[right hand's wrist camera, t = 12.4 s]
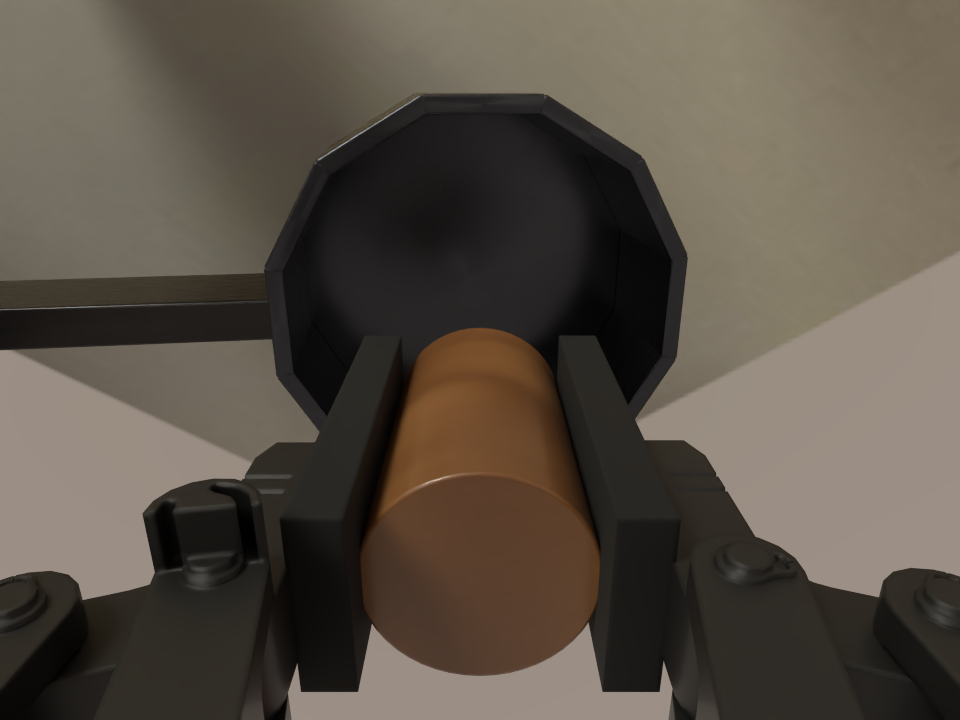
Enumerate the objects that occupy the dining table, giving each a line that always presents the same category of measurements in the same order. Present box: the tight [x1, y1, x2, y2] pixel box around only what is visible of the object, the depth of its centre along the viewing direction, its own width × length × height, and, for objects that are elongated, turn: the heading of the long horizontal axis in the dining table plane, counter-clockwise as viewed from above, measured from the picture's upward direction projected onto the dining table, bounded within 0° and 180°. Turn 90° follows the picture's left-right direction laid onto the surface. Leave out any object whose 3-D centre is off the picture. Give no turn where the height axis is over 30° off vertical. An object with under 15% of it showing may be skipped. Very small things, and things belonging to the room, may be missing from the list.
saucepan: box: [0, 93, 688, 431], centre depth 21 cm, size 28×12×5 cm, turn 90°
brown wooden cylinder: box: [360, 328, 600, 676], centre depth 12 cm, size 3×3×6 cm
